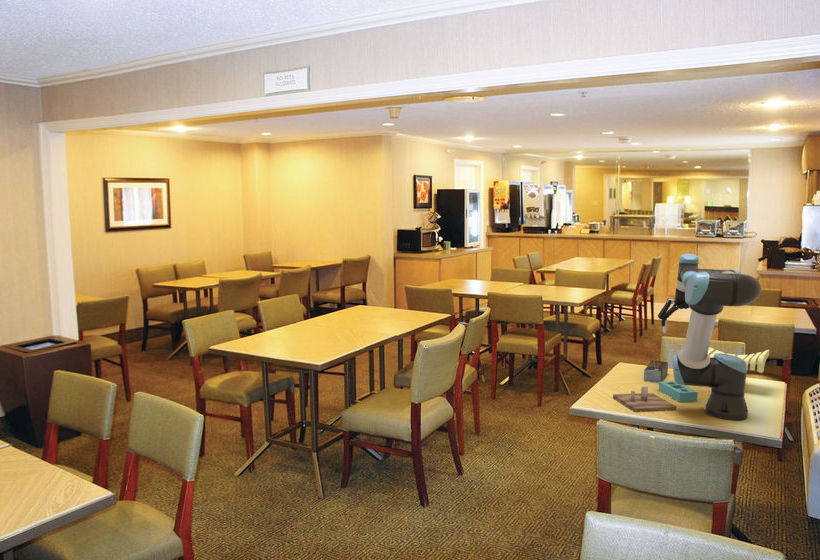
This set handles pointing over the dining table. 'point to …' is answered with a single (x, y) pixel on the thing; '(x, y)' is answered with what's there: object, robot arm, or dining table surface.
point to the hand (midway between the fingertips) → (680, 332)
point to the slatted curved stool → (748, 359)
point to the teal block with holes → (677, 391)
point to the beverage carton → (656, 371)
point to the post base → (644, 401)
